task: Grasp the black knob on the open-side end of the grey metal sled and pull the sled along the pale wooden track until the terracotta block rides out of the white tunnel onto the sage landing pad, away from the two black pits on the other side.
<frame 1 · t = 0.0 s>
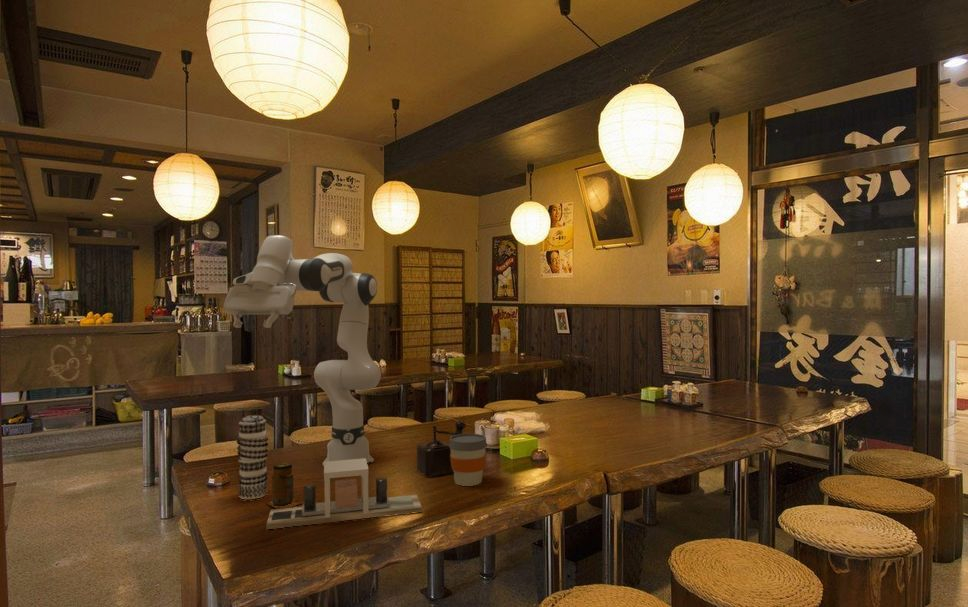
hand: (251, 327, 153), 54 cm above the table, tool tilted 30°, fingers open, 8 cm apart
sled: (346, 495, 159), point 5 cm above the table, slide at 0.0 cm
black coffee grinder: (442, 471, 198), on the table
tunnel: (346, 486, 159), on the track, point 8 cm above the table
round tower model: (253, 496, 175), on the table
reusable coffee cup: (468, 483, 185), on the table
condiment: (284, 505, 167), on the table
track: (346, 513, 159), on the table
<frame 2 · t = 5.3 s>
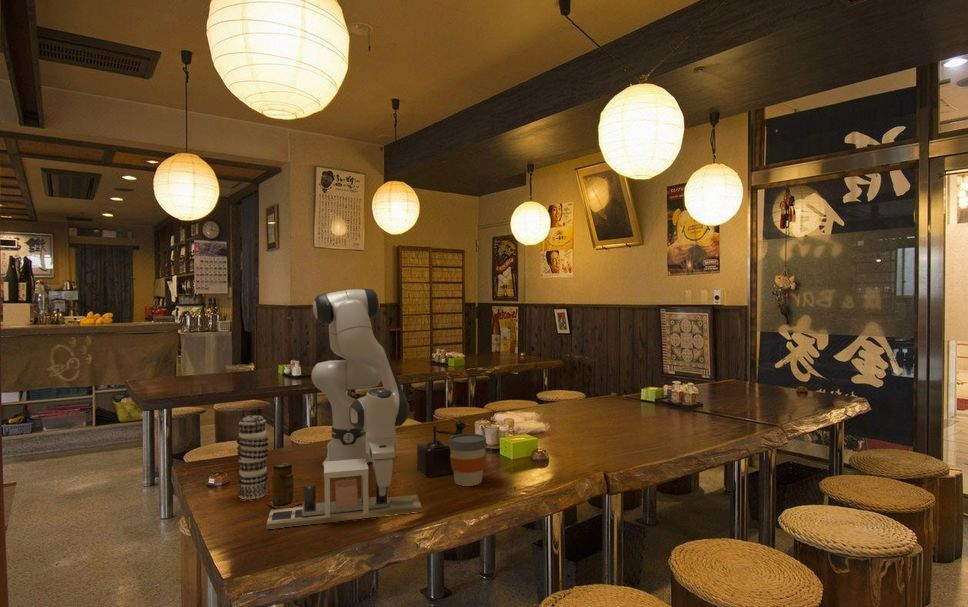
hand: (381, 492, 162), 5 cm above the table, tool pointing down, fingers closed on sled, 3 cm apart
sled: (346, 495, 159), point 5 cm above the table, slide at 0.0 cm, touching gripper
everything else where it was.
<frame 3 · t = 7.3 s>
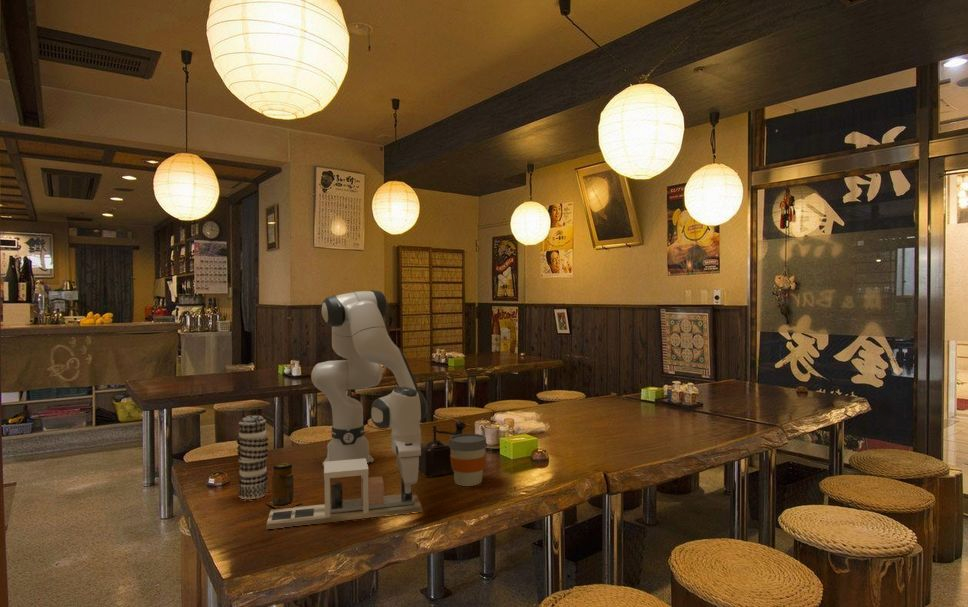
hand: (406, 490, 164), 5 cm above the table, tool pointing down, fingers closed on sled, 3 cm apart
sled: (372, 492, 161), point 5 cm above the table, slide at 7.4 cm, touching gripper
everything else where it was.
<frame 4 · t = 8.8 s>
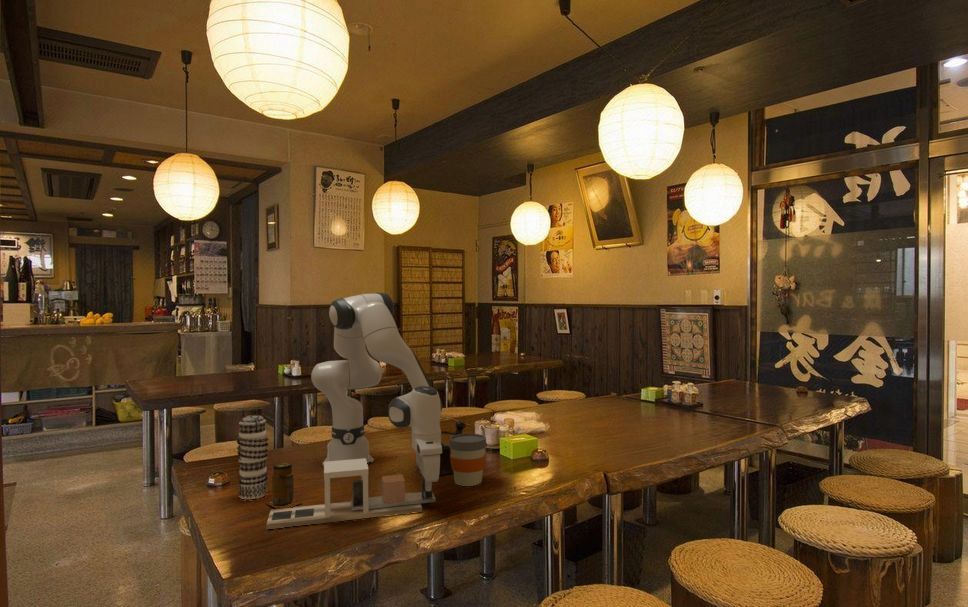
hand: (426, 487, 165), 5 cm above the table, tool pointing down, fingers closed on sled, 3 cm apart
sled: (393, 490, 163), point 5 cm above the table, slide at 13.4 cm, touching gripper
everything else where it was.
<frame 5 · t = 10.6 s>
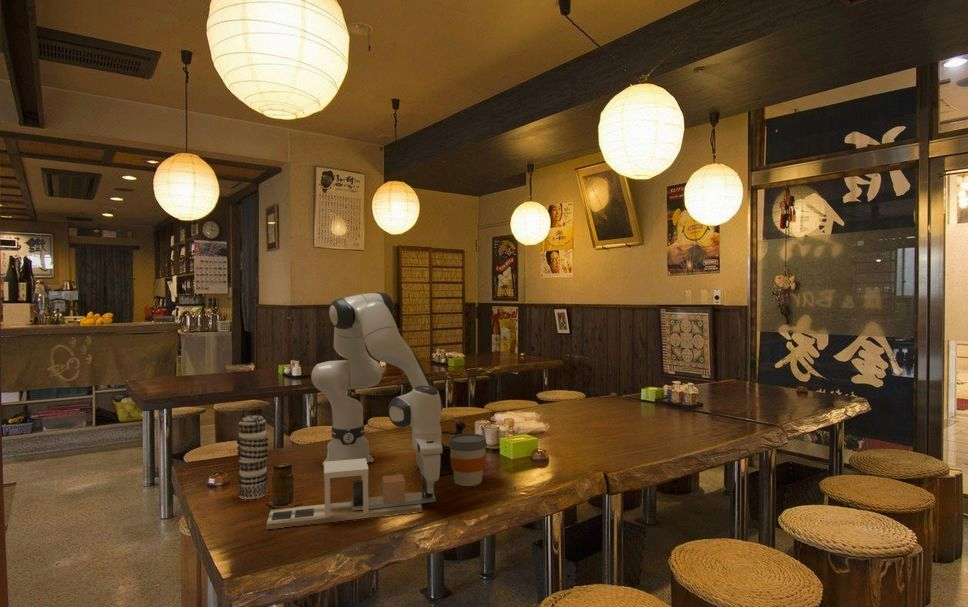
hand: (427, 487, 166), 5 cm above the table, tool pointing down, fingers open, 8 cm apart
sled: (393, 490, 163), point 5 cm above the table, slide at 13.5 cm
everything else where it was.
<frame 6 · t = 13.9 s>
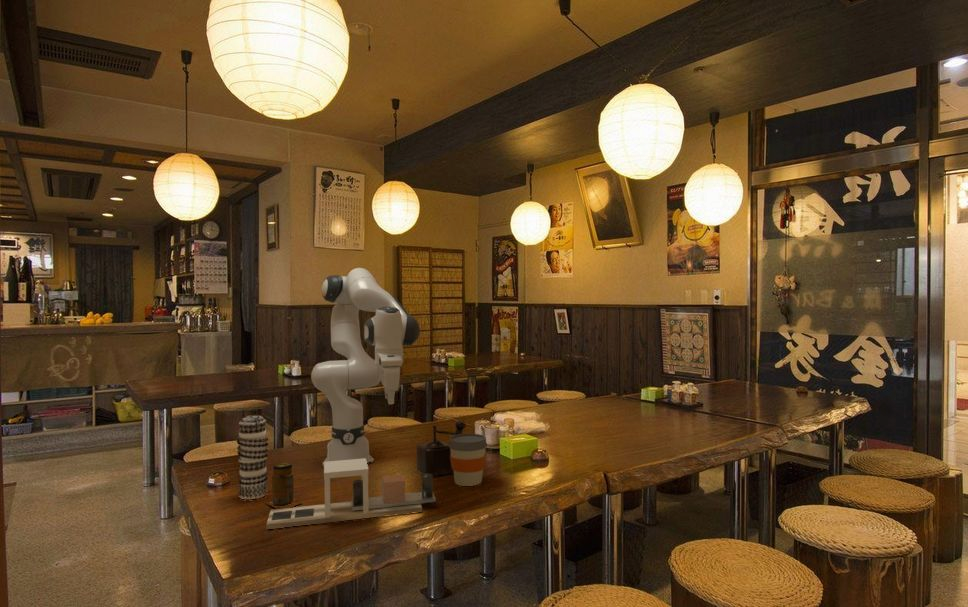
hand: (389, 401, 176), 29 cm above the table, tool pointing down, fingers open, 8 cm apart
nothing on the table moved.
at the end: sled slide at 13.5 cm; condiment moved 0.3 cm from its start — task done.
